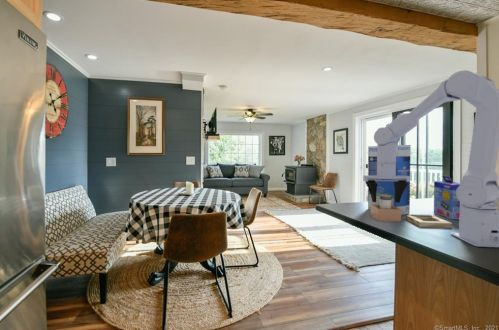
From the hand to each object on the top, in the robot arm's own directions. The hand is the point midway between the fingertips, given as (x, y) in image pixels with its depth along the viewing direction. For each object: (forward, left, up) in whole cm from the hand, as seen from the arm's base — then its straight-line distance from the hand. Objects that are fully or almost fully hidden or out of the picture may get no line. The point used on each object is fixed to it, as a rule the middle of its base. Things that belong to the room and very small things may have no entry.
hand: (385, 202), depth 87 cm
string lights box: (+11, -5, -6) cm, 14 cm away
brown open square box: (0, 0, -6) cm, 6 cm away
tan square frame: (-5, -11, -6) cm, 13 cm away
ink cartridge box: (+6, -24, -6) cm, 26 cm away
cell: (0, 0, -5) cm, 5 cm away
